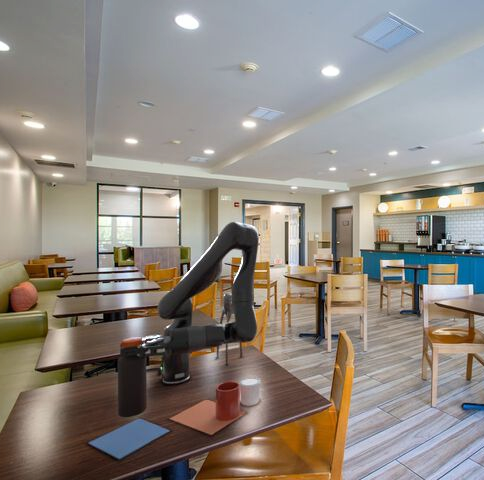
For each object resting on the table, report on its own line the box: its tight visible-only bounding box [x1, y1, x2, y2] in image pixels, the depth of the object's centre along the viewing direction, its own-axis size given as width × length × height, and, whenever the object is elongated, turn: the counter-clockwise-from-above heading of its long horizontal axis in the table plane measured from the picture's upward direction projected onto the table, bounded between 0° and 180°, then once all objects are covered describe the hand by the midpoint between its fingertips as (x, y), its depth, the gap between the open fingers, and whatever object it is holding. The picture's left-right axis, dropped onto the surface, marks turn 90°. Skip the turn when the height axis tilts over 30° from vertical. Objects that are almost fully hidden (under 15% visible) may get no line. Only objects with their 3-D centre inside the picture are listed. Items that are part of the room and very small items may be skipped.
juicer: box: [216, 292, 243, 366], centre depth 155 cm, size 10×11×30 cm
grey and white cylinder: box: [239, 377, 262, 407], centre depth 116 cm, size 7×7×7 cm
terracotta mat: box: [168, 399, 247, 436], centre depth 107 cm, size 18×14×1 cm
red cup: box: [215, 380, 241, 421], centre depth 107 cm, size 7×7×9 cm
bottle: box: [117, 336, 148, 418], centre depth 95 cm, size 7×7×20 cm
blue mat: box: [87, 417, 171, 461], centre depth 95 cm, size 14×14×1 cm
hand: (120, 349), depth 94 cm, fingers closed on bottle, 5 cm apart
